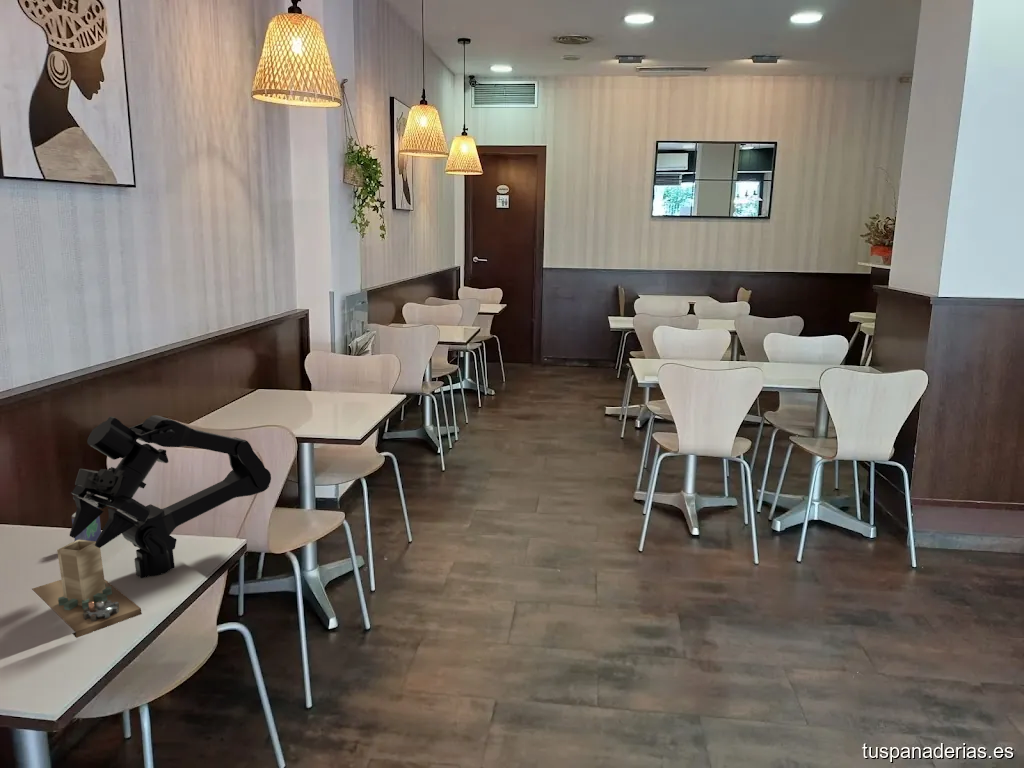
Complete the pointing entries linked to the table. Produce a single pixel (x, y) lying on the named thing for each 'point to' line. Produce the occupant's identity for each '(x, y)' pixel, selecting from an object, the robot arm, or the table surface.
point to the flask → (89, 530)
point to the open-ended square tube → (81, 574)
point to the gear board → (75, 615)
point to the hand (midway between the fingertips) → (84, 541)
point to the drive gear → (100, 610)
